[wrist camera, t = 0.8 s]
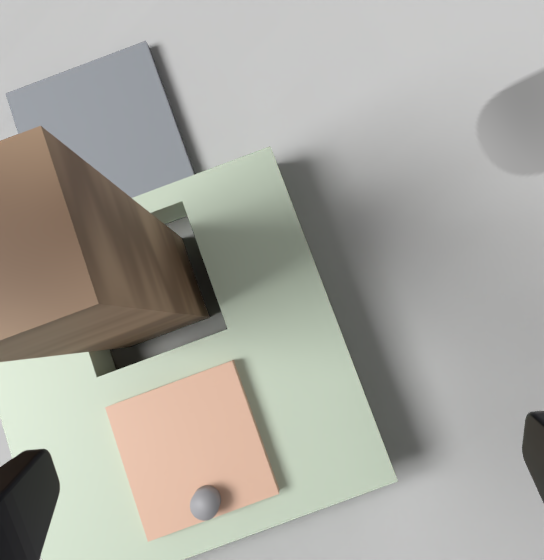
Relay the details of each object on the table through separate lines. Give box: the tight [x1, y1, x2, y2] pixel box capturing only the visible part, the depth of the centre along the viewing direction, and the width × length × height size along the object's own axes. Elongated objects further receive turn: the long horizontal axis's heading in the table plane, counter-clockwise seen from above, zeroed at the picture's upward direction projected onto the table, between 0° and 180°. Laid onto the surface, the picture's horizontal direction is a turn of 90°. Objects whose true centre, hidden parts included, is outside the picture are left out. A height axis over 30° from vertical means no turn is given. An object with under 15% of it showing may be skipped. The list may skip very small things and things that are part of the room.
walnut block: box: [0, 126, 209, 362], centre depth 18 cm, size 4×4×14 cm
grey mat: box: [6, 41, 195, 198], centre depth 25 cm, size 8×8×1 cm
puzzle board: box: [0, 147, 398, 560], centre depth 22 cm, size 16×16×4 cm
